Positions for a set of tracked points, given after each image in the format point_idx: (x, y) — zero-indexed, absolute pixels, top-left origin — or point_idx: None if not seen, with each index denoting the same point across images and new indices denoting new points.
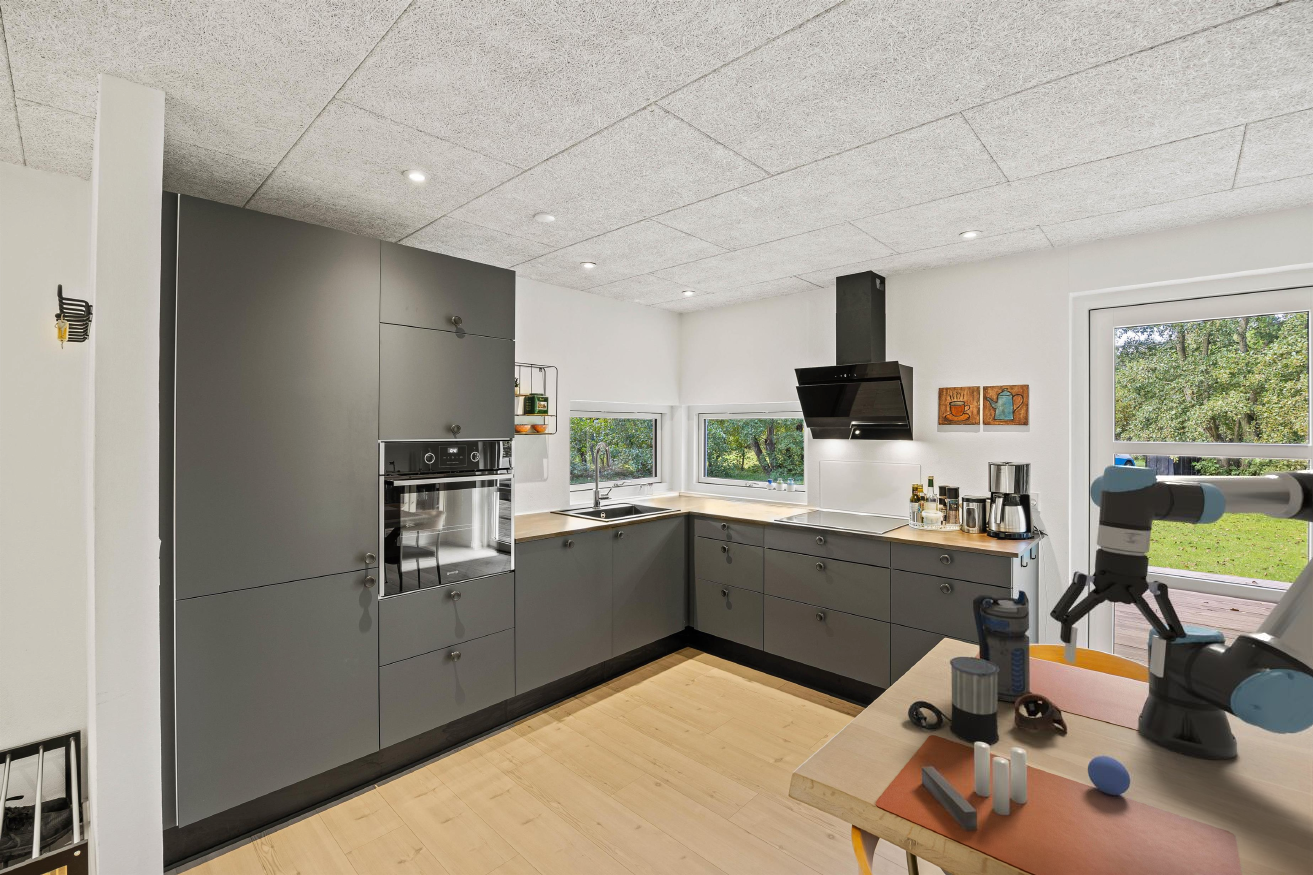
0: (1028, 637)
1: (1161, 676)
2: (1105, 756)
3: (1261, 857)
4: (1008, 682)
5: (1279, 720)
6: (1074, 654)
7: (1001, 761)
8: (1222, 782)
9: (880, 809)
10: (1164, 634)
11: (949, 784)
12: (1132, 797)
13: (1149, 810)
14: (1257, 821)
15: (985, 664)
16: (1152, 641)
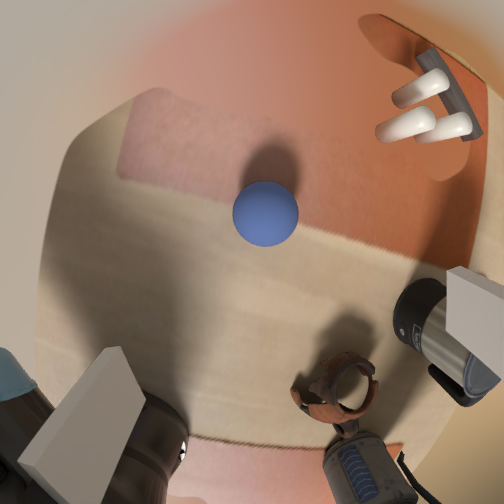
0: None
1: (108, 349)
2: (273, 224)
3: (104, 130)
4: (365, 451)
5: None
6: (474, 281)
7: (439, 76)
8: (101, 326)
9: (481, 77)
10: (9, 490)
11: (457, 98)
12: (228, 212)
13: (211, 181)
14: (81, 228)
15: (474, 380)
16: (101, 496)
